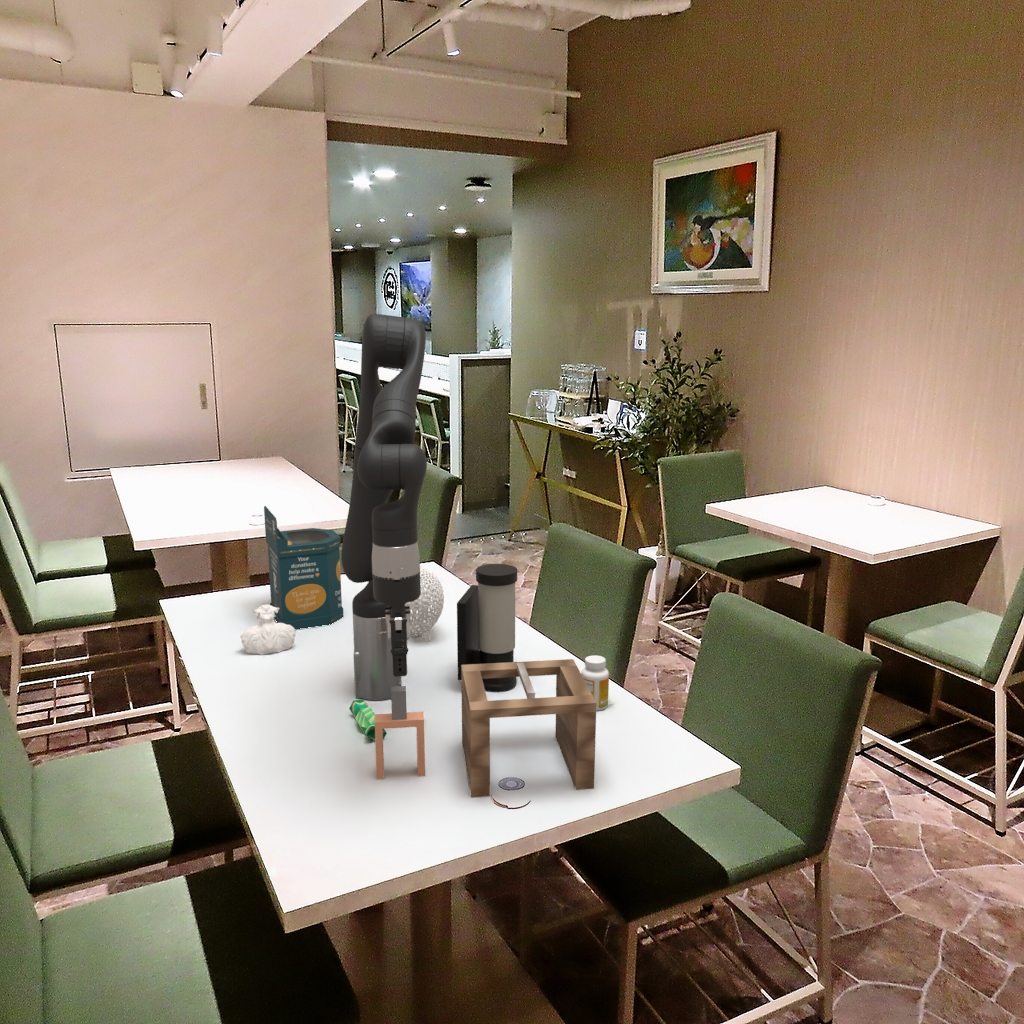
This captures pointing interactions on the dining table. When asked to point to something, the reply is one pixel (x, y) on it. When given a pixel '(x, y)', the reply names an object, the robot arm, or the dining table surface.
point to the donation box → (304, 574)
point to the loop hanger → (399, 720)
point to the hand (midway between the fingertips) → (399, 665)
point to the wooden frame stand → (568, 705)
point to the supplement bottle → (597, 679)
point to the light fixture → (488, 622)
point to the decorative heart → (426, 605)
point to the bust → (267, 633)
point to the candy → (365, 718)
